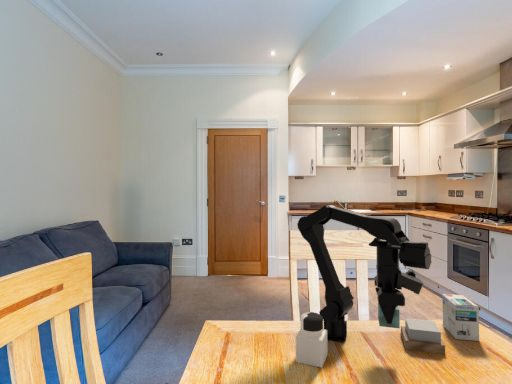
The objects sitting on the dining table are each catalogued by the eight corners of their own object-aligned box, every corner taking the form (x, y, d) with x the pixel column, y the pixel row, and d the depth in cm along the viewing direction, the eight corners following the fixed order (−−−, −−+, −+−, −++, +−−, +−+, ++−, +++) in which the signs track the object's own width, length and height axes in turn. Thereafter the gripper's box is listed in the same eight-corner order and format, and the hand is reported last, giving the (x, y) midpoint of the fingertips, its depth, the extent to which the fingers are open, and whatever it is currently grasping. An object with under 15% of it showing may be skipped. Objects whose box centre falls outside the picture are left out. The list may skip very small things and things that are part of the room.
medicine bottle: (327, 355, 86) (327, 312, 86) (322, 368, 79) (321, 322, 79) (303, 349, 89) (302, 308, 89) (295, 362, 82) (294, 317, 82)
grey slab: (409, 339, 89) (409, 328, 89) (405, 327, 97) (405, 318, 97) (440, 343, 87) (440, 332, 87) (433, 330, 95) (433, 321, 95)
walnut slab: (405, 350, 89) (405, 340, 89) (400, 335, 98) (400, 326, 98) (445, 356, 85) (445, 345, 85) (436, 339, 95) (436, 330, 95)
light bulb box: (480, 341, 92) (479, 306, 92) (455, 339, 94) (455, 304, 94) (463, 326, 103) (463, 294, 103) (441, 324, 104) (441, 293, 104)
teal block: (379, 326, 84) (379, 307, 84) (378, 318, 88) (378, 301, 88) (399, 328, 82) (399, 309, 82) (397, 320, 87) (397, 303, 87)
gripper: (427, 274, 74) (428, 339, 74) (413, 258, 92) (414, 310, 92) (378, 271, 77) (378, 333, 77) (374, 256, 95) (374, 306, 95)
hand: (388, 319), depth 85 cm, fingers closed on teal block, 5 cm apart
